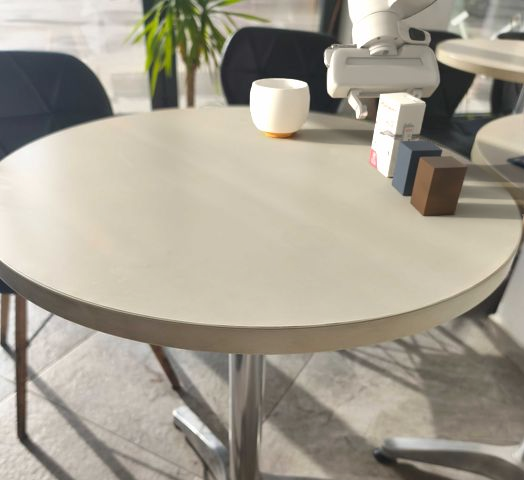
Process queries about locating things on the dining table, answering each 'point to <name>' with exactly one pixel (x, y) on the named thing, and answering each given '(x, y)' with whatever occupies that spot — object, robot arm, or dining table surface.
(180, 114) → the dining table surface
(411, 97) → the ink box
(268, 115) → the cup
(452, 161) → the walnut block
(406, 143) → the slate block
